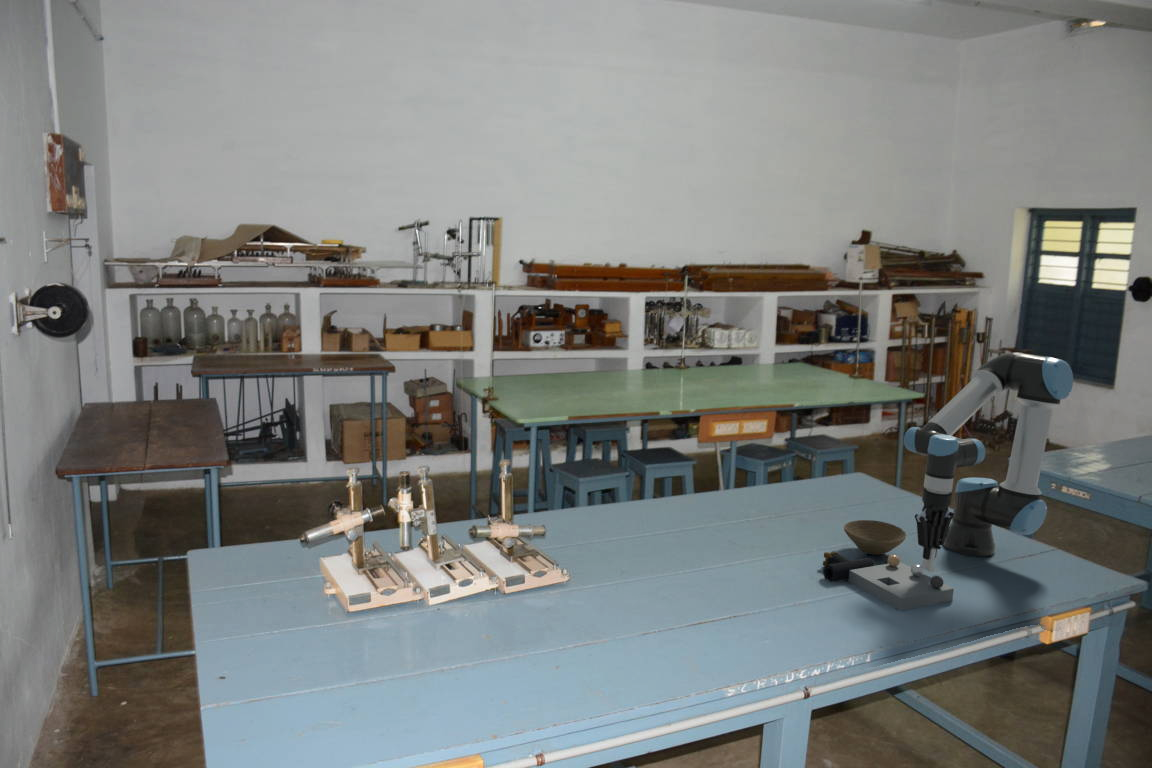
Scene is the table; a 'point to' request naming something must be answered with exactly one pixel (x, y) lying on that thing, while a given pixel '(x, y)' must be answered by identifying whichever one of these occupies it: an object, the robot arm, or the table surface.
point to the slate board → (899, 586)
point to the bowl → (874, 536)
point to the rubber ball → (936, 582)
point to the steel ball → (917, 570)
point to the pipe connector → (841, 566)
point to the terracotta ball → (893, 560)
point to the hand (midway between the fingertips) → (927, 569)
